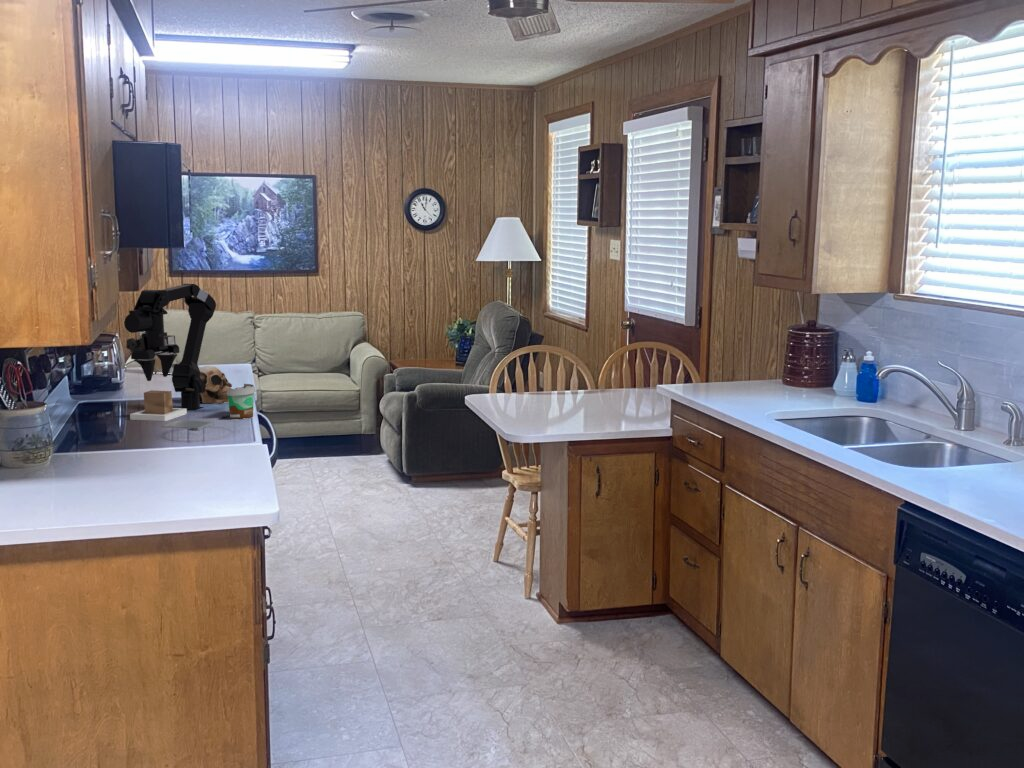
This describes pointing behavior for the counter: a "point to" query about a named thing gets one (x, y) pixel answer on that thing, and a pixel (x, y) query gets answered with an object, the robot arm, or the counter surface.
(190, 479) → the counter surface
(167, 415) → the pocket tray
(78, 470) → the counter surface
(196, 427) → the slate trivet
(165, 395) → the walnut block
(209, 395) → the brown skull
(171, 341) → the coffee box
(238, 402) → the food container
